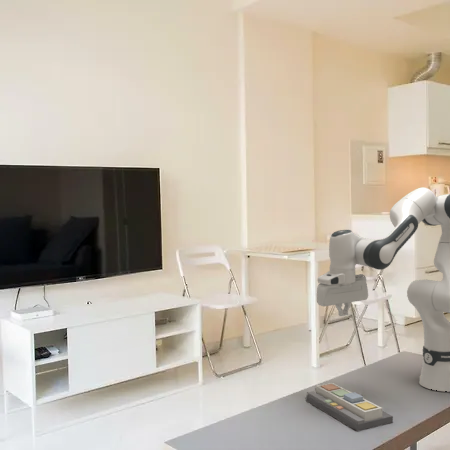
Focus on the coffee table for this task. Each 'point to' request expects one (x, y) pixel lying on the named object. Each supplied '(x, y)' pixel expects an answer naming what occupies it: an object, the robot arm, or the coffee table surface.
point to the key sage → (340, 393)
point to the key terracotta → (330, 387)
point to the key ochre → (366, 406)
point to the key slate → (353, 397)
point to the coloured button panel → (347, 409)
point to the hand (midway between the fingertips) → (343, 315)
